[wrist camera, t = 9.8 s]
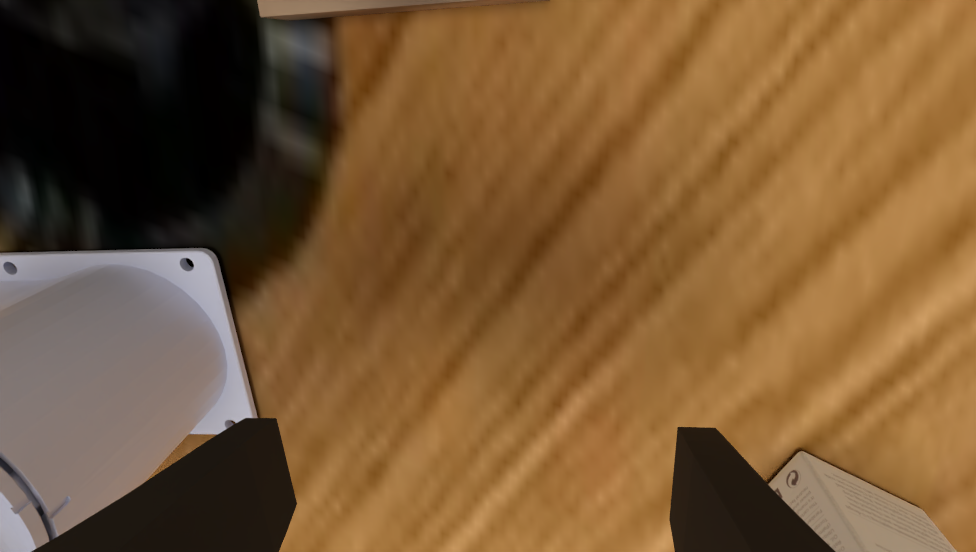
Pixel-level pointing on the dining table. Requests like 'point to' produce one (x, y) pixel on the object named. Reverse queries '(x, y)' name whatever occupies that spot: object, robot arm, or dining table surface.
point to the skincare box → (854, 510)
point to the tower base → (360, 7)
